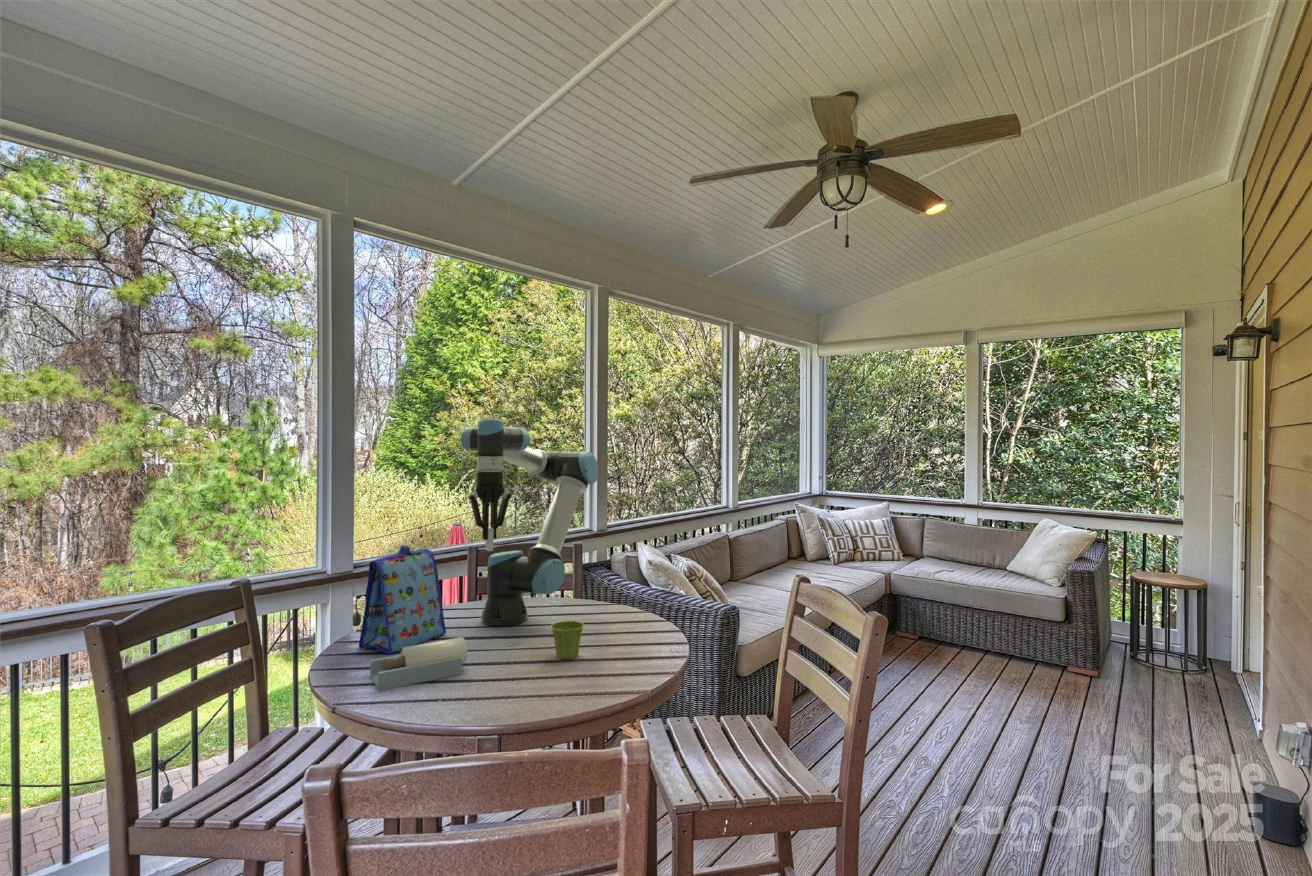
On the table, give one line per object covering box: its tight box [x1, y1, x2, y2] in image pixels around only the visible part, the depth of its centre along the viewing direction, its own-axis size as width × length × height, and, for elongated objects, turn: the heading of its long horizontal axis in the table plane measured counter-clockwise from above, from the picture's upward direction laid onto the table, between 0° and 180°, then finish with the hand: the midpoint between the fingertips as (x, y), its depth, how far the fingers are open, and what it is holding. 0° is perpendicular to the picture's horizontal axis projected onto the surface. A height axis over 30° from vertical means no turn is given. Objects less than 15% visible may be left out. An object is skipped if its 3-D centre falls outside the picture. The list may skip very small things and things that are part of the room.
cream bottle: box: [382, 636, 468, 671], centre depth 157 cm, size 7×7×20 cm
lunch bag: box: [358, 544, 447, 655], centre depth 184 cm, size 22×14×29 cm, turn 154°
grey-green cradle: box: [369, 654, 463, 692], centre depth 157 cm, size 20×11×4 cm, turn 124°
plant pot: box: [550, 620, 585, 660], centre depth 172 cm, size 9×9×9 cm
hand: (489, 550), depth 180 cm, fingers closed
